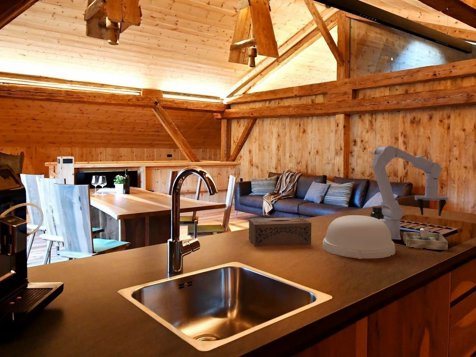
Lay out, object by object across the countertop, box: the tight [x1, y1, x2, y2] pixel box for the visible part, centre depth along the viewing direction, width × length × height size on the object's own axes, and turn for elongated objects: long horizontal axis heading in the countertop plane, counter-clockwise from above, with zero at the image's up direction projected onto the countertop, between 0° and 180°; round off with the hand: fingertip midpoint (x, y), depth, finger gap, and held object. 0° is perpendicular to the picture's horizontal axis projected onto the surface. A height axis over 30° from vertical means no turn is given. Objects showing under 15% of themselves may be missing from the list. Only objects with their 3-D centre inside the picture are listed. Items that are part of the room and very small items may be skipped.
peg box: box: [402, 231, 449, 251], centre depth 182 cm, size 16×16×4 cm
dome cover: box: [322, 214, 396, 260], centre depth 174 cm, size 32×30×14 cm
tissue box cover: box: [248, 216, 312, 247], centre depth 187 cm, size 26×14×10 cm, turn 98°
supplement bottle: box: [369, 205, 384, 220], centre depth 214 cm, size 7×7×12 cm
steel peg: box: [419, 227, 430, 240], centre depth 182 cm, size 4×4×7 cm
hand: (430, 215), depth 197 cm, fingers open, 7 cm apart
